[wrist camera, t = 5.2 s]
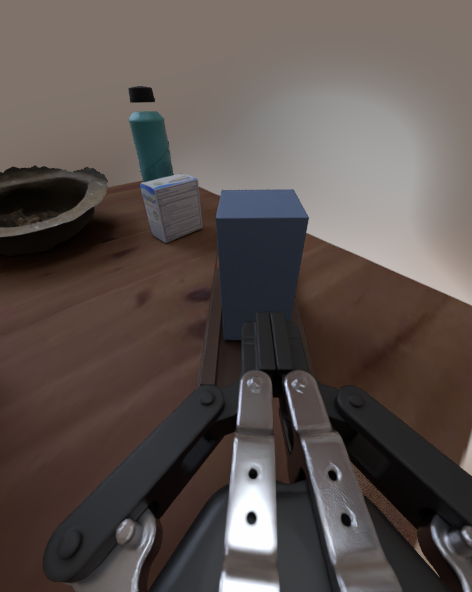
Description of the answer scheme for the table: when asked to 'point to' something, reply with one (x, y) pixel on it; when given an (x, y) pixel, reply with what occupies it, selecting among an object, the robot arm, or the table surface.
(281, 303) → the block
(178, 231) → the medicine box
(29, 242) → the stone bowl
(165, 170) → the beverage bottle
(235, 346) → the track
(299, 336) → the robot arm
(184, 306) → the table surface
